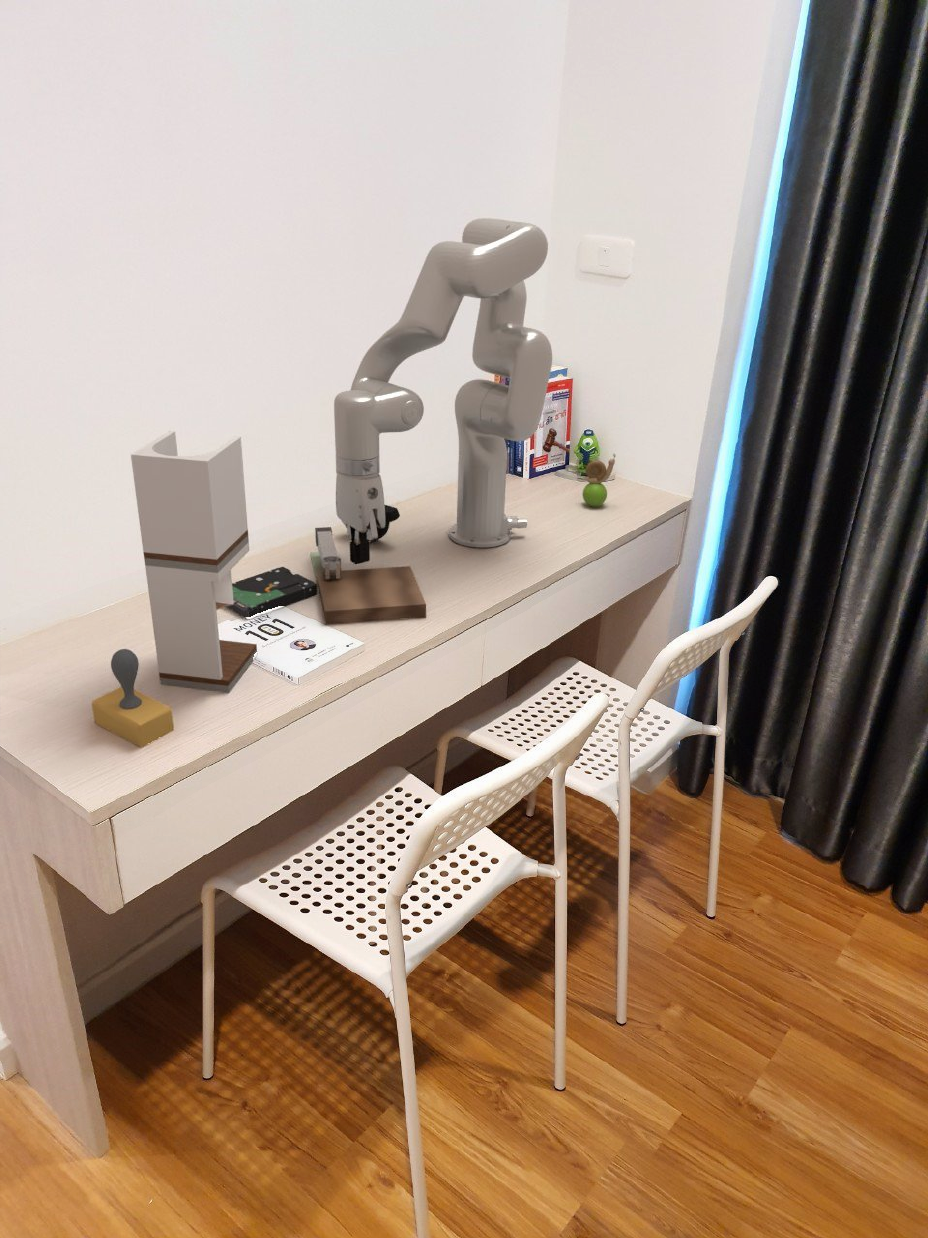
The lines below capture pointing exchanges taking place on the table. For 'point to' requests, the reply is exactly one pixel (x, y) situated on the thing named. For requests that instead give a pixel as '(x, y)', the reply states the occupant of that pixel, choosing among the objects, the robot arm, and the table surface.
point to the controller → (387, 520)
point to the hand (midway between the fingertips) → (359, 561)
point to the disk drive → (270, 591)
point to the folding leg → (328, 553)
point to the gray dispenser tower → (192, 558)
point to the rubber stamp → (131, 706)
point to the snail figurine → (597, 482)
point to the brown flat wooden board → (369, 594)
